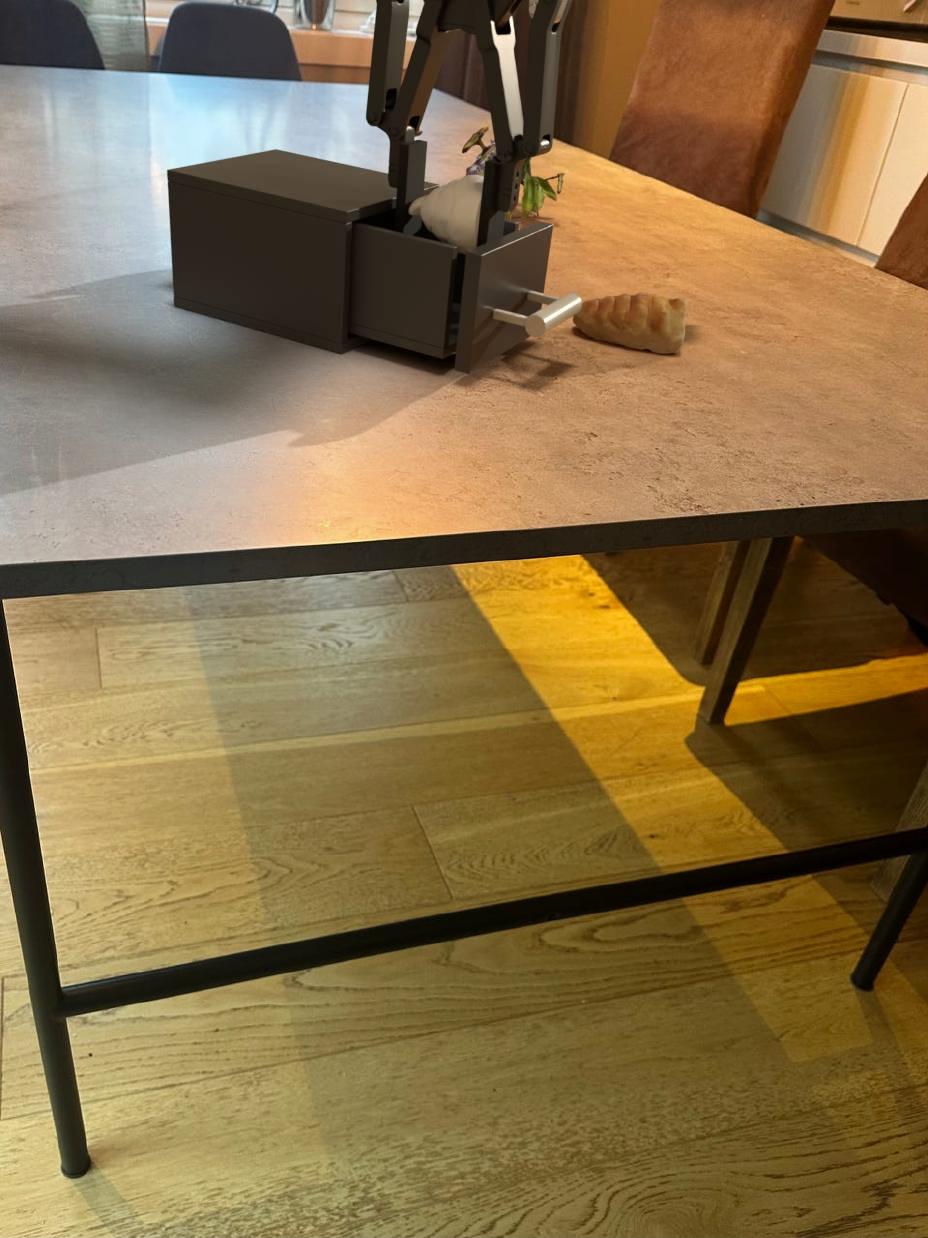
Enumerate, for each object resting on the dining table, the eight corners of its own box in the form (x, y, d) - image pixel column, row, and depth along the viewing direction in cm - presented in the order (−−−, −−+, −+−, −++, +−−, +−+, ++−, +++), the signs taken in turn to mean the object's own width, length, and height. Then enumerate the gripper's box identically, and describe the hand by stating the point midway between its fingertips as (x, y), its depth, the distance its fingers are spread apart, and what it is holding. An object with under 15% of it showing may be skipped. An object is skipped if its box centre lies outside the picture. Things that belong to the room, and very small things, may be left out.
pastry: (569, 341, 85) (576, 294, 83) (572, 317, 91) (579, 272, 89) (684, 358, 84) (694, 311, 82) (680, 332, 90) (690, 288, 88)
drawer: (587, 344, 82) (605, 235, 78) (522, 389, 73) (539, 268, 68) (382, 290, 88) (388, 186, 84) (297, 326, 79) (299, 211, 74)
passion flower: (467, 256, 124) (451, 156, 124) (557, 244, 125) (542, 144, 125) (475, 219, 113) (458, 109, 112) (574, 206, 113) (557, 97, 113)
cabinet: (429, 311, 88) (439, 184, 82) (341, 354, 77) (346, 211, 72) (275, 271, 93) (275, 148, 87) (173, 305, 83) (166, 169, 77)
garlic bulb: (427, 234, 80) (433, 158, 77) (498, 250, 78) (507, 173, 75) (393, 247, 76) (397, 167, 73) (467, 265, 74) (475, 183, 71)
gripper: (316, -161, 65) (309, 228, 77) (604, -133, 58) (545, 285, 71) (379, -148, 70) (363, 212, 83) (647, -121, 64) (585, 263, 77)
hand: (447, 245), depth 77 cm, fingers closed on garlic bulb, 6 cm apart
